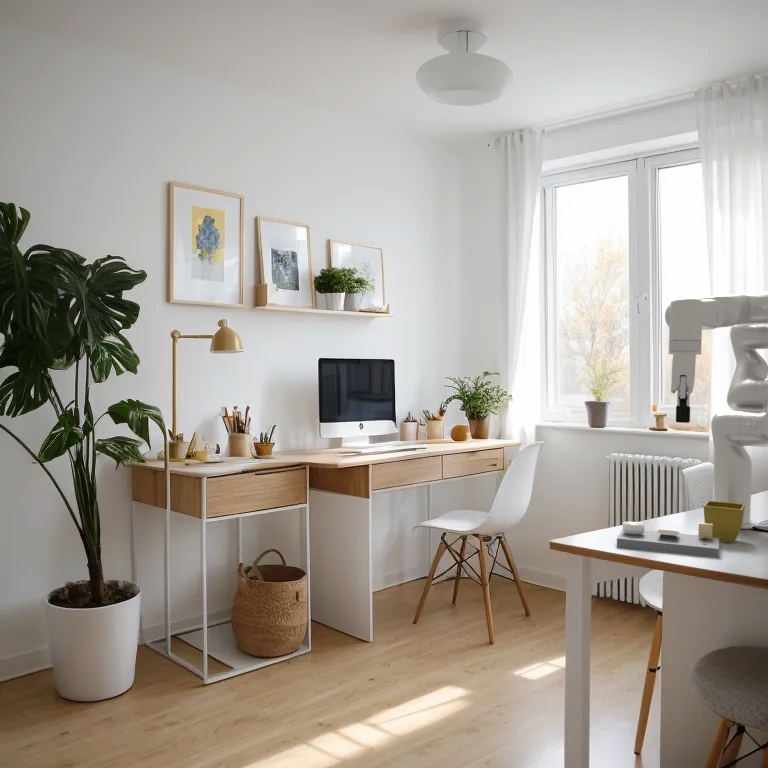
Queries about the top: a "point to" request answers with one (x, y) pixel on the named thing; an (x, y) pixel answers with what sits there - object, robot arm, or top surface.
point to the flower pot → (724, 519)
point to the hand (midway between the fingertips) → (682, 422)
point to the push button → (633, 527)
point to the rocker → (668, 531)
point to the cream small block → (705, 530)
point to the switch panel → (670, 543)
